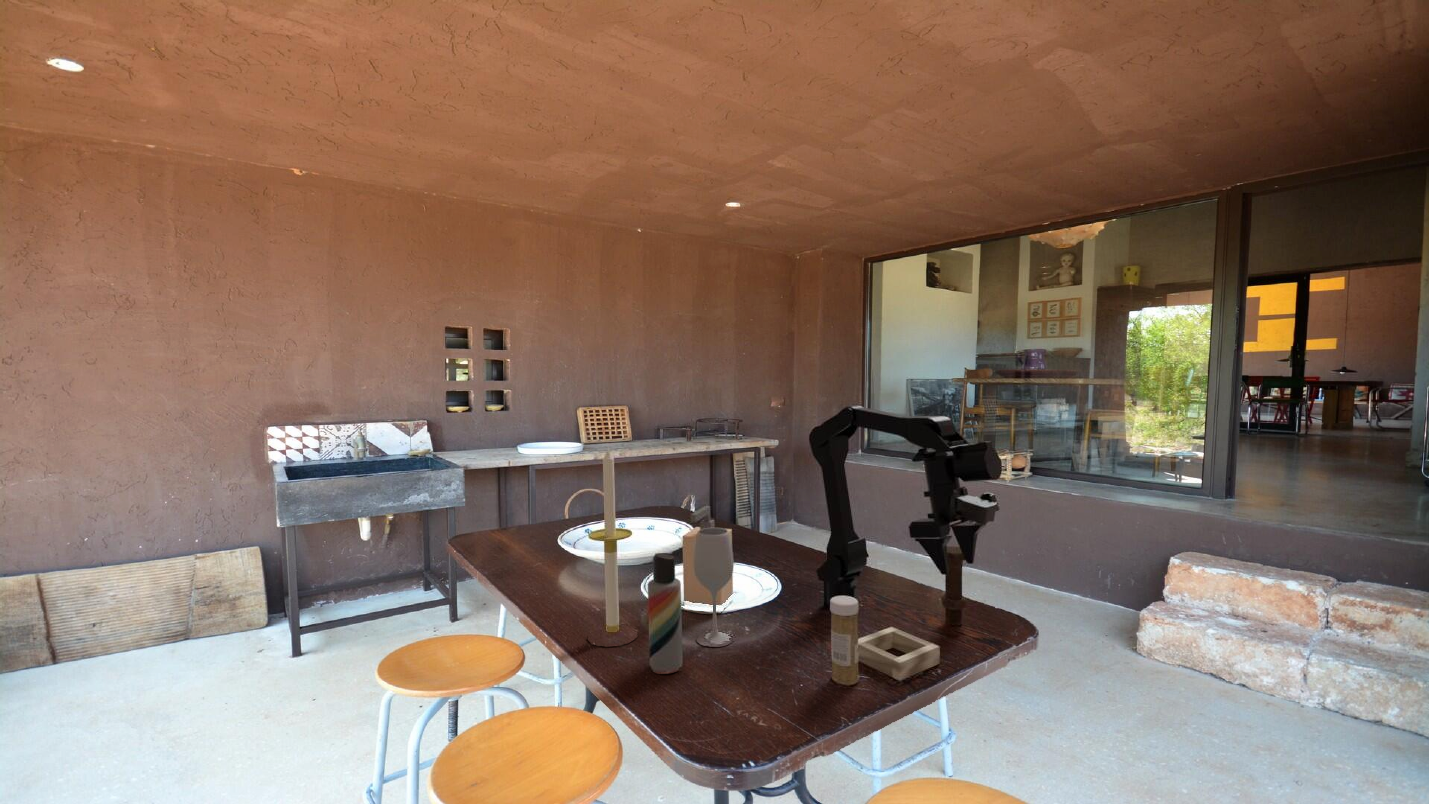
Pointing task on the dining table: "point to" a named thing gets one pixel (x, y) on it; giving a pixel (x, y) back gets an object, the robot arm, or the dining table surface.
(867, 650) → the collar
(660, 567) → the lotion bottle
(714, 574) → the wineglass
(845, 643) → the sprinkles bottle
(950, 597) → the bolt
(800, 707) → the dining table surface
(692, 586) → the soap dispenser
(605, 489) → the candle
